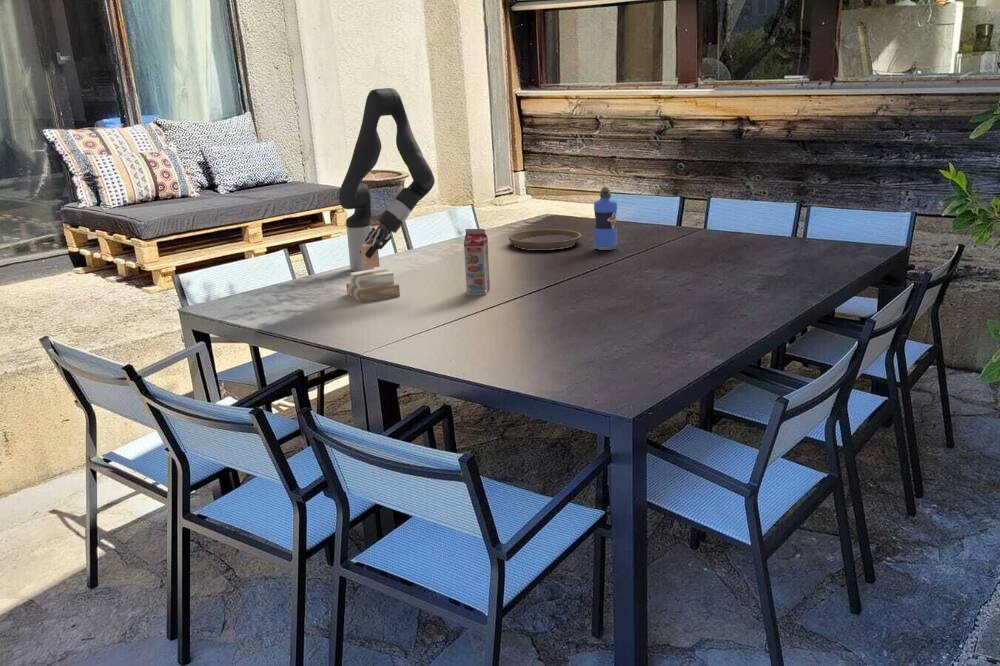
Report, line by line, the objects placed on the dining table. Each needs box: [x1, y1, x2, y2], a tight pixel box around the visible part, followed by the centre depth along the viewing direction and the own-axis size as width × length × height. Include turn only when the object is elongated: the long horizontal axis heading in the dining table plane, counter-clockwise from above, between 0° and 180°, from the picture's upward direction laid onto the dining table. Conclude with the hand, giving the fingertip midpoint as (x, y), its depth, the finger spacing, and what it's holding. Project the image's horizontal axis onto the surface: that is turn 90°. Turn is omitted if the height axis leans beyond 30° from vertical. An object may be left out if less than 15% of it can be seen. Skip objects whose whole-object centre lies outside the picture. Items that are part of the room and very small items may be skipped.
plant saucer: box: [508, 228, 583, 249], centre depth 372 cm, size 31×31×5 cm
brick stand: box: [345, 267, 401, 303], centre depth 301 cm, size 14×14×8 cm
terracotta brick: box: [361, 243, 381, 269], centre depth 298 cm, size 4×4×8 cm
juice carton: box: [463, 228, 491, 296], centre depth 297 cm, size 7×7×22 cm
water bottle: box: [593, 186, 618, 247], centre depth 356 cm, size 9×9×25 cm
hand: (364, 255), depth 297 cm, fingers closed on terracotta brick, 4 cm apart
